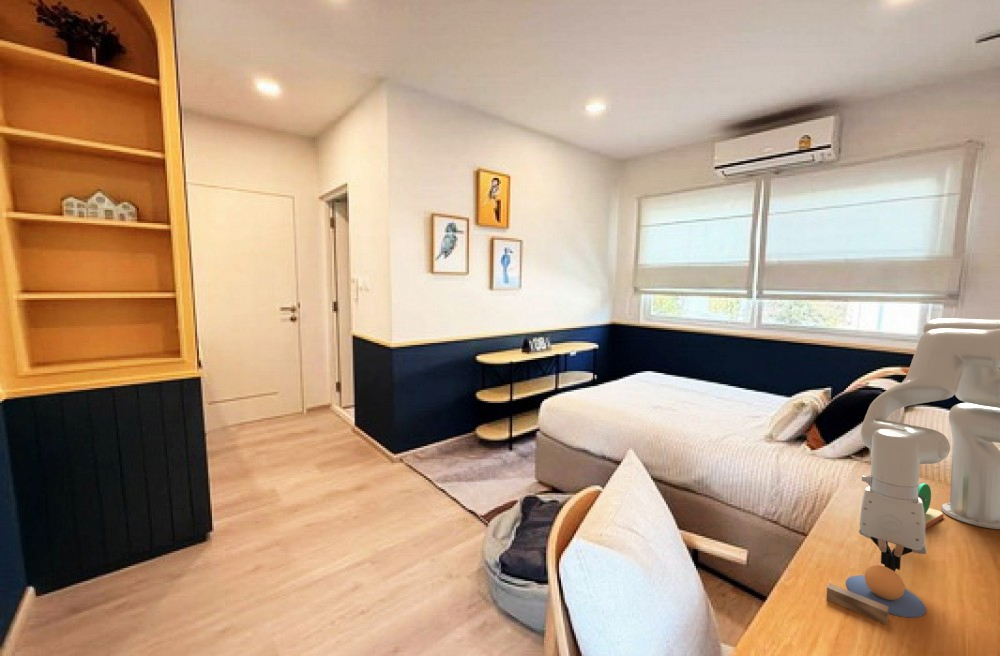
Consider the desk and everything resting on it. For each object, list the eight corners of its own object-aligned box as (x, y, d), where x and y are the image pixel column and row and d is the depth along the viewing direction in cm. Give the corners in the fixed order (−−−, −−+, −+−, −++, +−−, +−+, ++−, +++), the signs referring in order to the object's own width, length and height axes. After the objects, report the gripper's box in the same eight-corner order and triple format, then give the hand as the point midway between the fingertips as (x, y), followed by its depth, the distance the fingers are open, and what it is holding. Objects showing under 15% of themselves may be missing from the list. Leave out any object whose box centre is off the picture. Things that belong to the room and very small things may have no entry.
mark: (900, 581, 89) (900, 580, 89) (942, 622, 78) (942, 621, 78) (834, 572, 93) (834, 571, 93) (865, 611, 81) (865, 610, 81)
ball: (889, 579, 81) (886, 608, 81) (914, 577, 82) (911, 606, 82) (858, 559, 87) (855, 587, 87) (882, 558, 88) (878, 585, 88)
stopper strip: (888, 619, 79) (888, 606, 79) (886, 624, 78) (887, 612, 77) (829, 594, 86) (829, 583, 86) (826, 599, 84) (826, 587, 84)
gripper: (845, 482, 93) (842, 561, 94) (942, 506, 82) (938, 595, 83) (852, 472, 98) (850, 547, 99) (945, 494, 87) (941, 578, 88)
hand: (890, 569), depth 91 cm, fingers closed
